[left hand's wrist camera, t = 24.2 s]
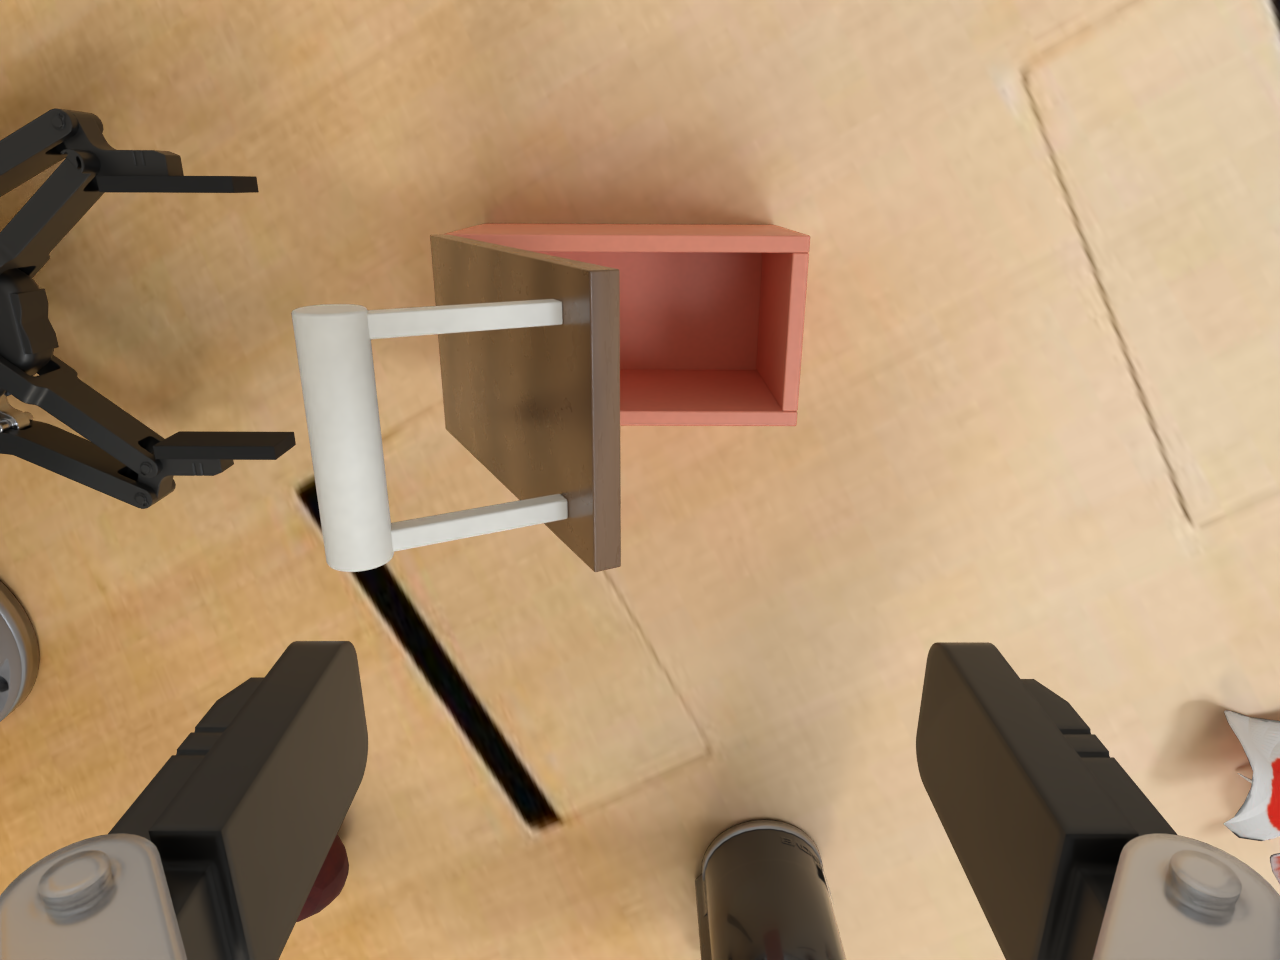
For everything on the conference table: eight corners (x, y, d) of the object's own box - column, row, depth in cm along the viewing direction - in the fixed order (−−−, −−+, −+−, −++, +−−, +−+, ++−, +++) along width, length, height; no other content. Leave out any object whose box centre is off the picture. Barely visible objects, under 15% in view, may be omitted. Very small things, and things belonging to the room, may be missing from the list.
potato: (286, 778, 61) (243, 850, 55) (378, 823, 63) (347, 898, 56) (246, 842, 63) (200, 919, 57) (336, 884, 65) (301, 964, 58)
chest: (774, 224, 48) (810, 235, 38) (765, 379, 51) (796, 426, 41) (483, 223, 48) (442, 234, 38) (492, 378, 51) (457, 425, 41)
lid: (620, 269, 23) (296, 284, 19) (621, 566, 26) (343, 629, 22) (450, 234, 38) (248, 239, 34) (464, 426, 41) (281, 450, 37)
